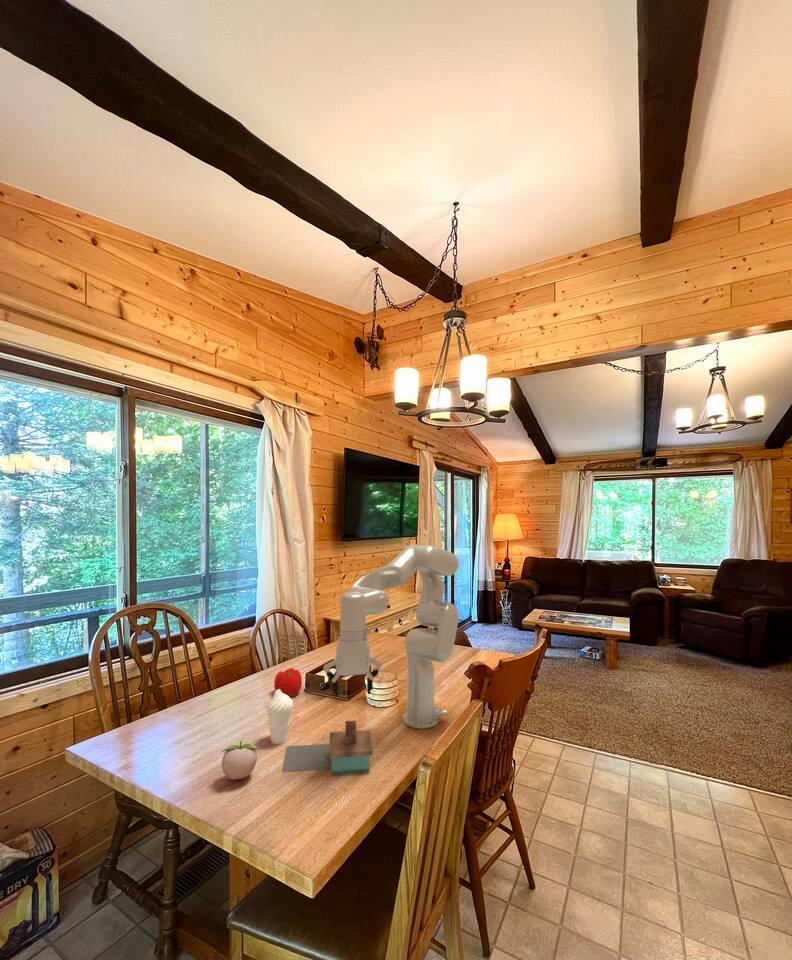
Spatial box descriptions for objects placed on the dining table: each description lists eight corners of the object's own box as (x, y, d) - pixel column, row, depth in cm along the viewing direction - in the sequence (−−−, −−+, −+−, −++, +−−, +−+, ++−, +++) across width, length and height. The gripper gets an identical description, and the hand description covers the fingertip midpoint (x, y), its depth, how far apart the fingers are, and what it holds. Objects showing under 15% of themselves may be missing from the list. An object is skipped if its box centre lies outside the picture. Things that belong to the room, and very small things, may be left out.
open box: (366, 752, 133) (366, 735, 133) (369, 772, 122) (369, 754, 123) (331, 754, 131) (331, 737, 132) (331, 775, 121) (331, 756, 121)
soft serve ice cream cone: (296, 737, 141) (298, 686, 142) (282, 750, 133) (284, 696, 134) (274, 733, 144) (276, 683, 145) (259, 745, 136) (261, 692, 137)
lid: (369, 734, 134) (369, 713, 134) (372, 755, 122) (373, 732, 123) (329, 736, 132) (330, 715, 133) (329, 757, 120) (330, 734, 121)
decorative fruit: (220, 793, 112) (222, 753, 113) (219, 776, 119) (221, 738, 120) (258, 785, 116) (260, 746, 116) (255, 769, 123) (257, 732, 124)
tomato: (287, 686, 183) (288, 664, 184) (307, 693, 176) (308, 670, 177) (267, 694, 175) (268, 671, 176) (286, 702, 168) (287, 678, 169)
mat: (332, 745, 137) (332, 743, 137) (332, 770, 123) (332, 768, 123) (286, 747, 135) (286, 746, 135) (281, 773, 121) (281, 772, 121)
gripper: (380, 629, 135) (380, 686, 134) (323, 632, 132) (323, 690, 131) (383, 637, 128) (383, 696, 126) (323, 639, 125) (323, 700, 124)
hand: (352, 693), depth 129 cm, fingers open, 9 cm apart
